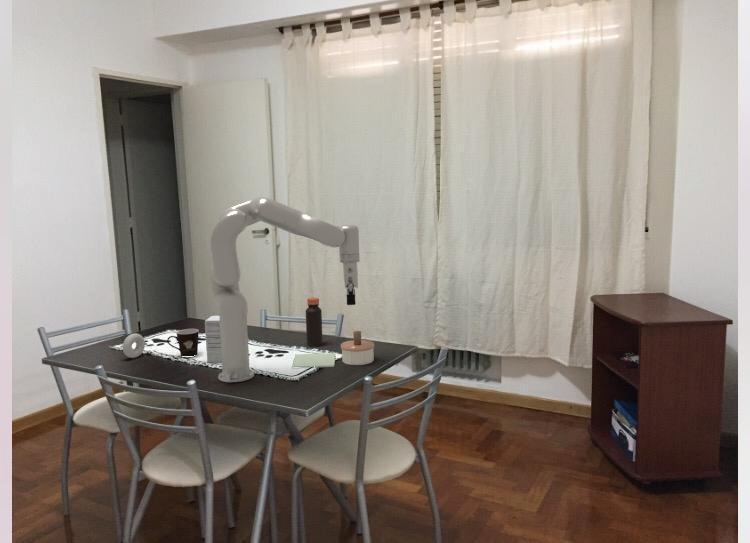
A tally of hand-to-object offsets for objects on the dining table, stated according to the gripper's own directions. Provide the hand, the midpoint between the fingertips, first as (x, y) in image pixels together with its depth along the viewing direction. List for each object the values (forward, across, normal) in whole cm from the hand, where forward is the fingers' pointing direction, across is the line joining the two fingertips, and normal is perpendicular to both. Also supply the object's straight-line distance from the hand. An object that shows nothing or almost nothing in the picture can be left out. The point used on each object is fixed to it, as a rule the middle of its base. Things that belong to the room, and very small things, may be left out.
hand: (351, 302), depth 223 cm
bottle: (+23, +24, +16) cm, 37 cm away
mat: (+23, 0, +15) cm, 27 cm away
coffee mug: (+23, +14, +68) cm, 73 cm away
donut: (+22, +13, +88) cm, 92 cm away
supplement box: (+23, +7, +52) cm, 57 cm away
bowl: (+23, -1, -2) cm, 23 cm away
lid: (+18, -1, -2) cm, 18 cm away
